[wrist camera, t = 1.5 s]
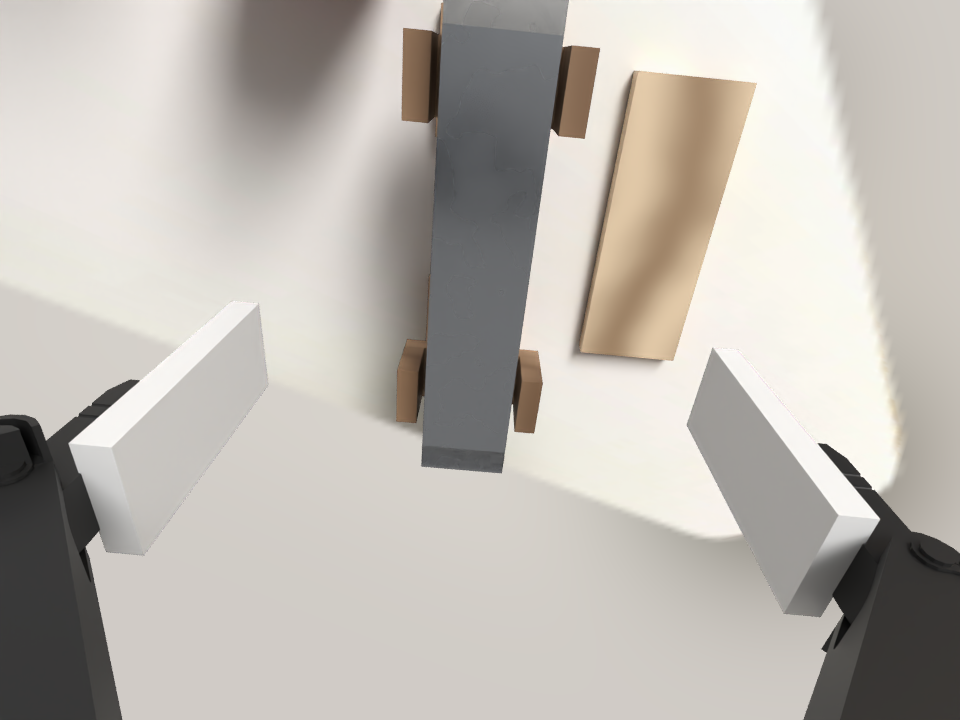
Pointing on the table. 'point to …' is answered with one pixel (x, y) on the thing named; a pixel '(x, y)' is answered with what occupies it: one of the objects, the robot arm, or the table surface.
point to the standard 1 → (414, 377)
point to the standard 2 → (425, 81)
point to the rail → (485, 218)
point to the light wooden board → (661, 210)
